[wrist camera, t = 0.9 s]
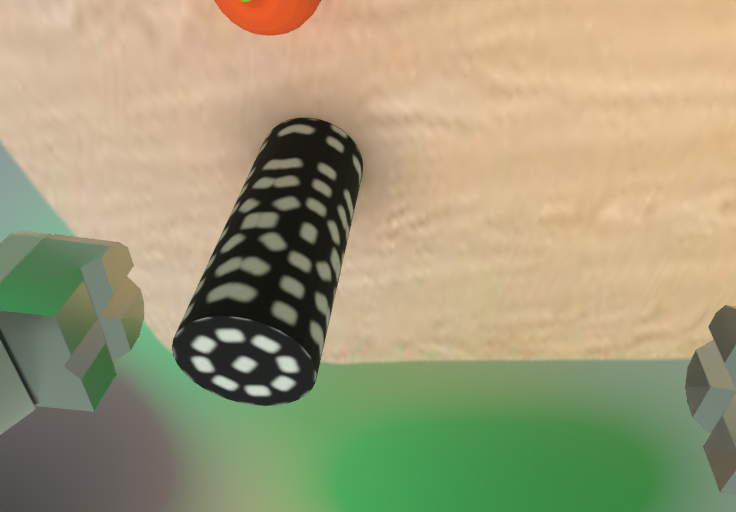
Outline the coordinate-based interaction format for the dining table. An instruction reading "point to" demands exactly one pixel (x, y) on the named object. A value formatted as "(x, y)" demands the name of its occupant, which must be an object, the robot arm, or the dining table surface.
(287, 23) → the clementine
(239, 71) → the dining table surface
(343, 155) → the spotted tube
